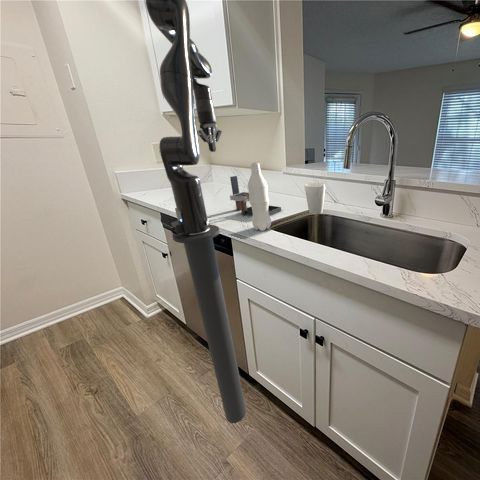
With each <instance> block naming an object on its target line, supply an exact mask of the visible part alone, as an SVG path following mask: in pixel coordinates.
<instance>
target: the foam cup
mask: <svg viewBox="0 0 480 480" xmlns="http://www.w3.org/2000/svg"><path fill="white" fill-rule="evenodd" d="M304 192H305V197H306V203H307V209H308V213H309V215H315V216H316V215H322V214H323V212H324V204H325V202H324V201H325V192H326V183H323V182H309V183H308V182H307V183H305V184H304Z"/></svg>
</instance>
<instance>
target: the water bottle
mask: <svg viewBox="0 0 480 480" xmlns="http://www.w3.org/2000/svg"><path fill="white" fill-rule="evenodd" d="M261 170H262V169H261V166H260V162H250V171H251V174H250V176H249V179H248V182H247V191H248V193H249V198H250V201H249V205H250V207H252V211H253V216H252V221H251V224H252V226H253V228H254V230H256V231H261V232H262V231H263V232H264V231H265V230H266V229H267V230H269V229H270V228H271V225H272V219H271V217H270V216H271V215H270V216H269V211H268V206H270V198H269V191H268V183H267V180H266V179H265V178H264V176H263V174H262V172H261Z"/></svg>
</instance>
